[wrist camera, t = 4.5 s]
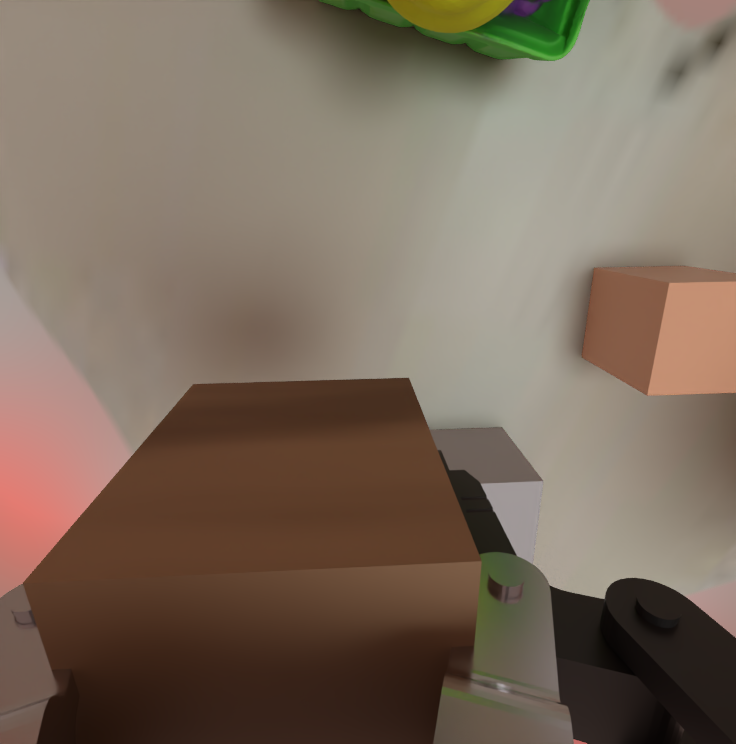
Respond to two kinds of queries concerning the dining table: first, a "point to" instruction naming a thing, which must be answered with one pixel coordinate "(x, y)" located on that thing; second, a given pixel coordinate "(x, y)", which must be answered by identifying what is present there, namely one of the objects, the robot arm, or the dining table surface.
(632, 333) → the terracotta block
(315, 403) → the walnut block
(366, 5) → the fruit basket
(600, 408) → the dining table surface
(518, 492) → the grey block
